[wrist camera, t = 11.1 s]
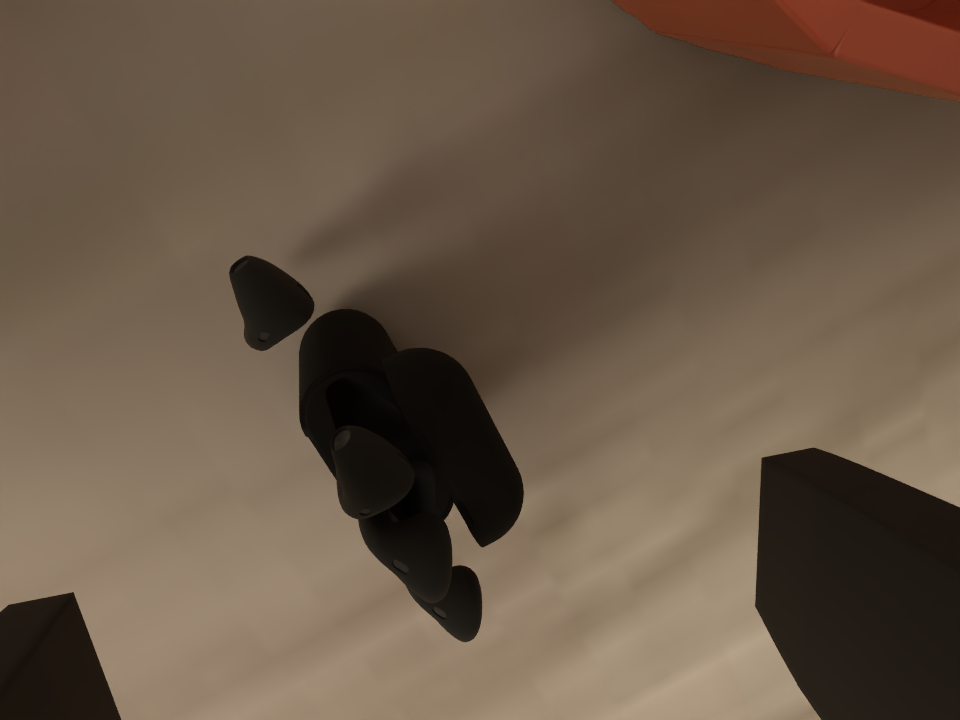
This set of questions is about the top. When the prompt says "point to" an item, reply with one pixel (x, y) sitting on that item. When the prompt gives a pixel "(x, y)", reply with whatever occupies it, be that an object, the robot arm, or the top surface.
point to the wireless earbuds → (392, 439)
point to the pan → (825, 37)
